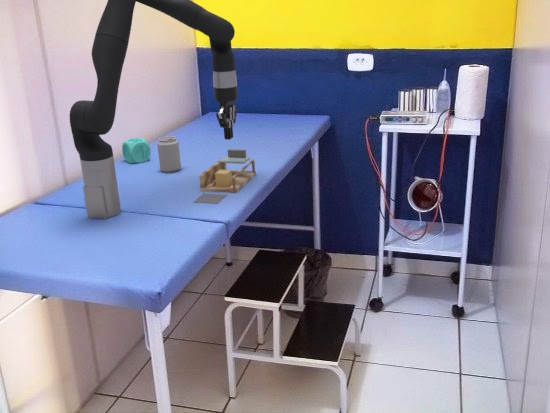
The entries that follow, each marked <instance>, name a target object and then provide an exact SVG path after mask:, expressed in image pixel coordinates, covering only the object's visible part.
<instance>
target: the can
mask: <svg viewBox="0 0 550 413" xmlns="http://www.w3.org/2000/svg"><path fill="white" fill-rule="evenodd" d="M179 143H180V142H179V140H178V139H177V137H176V136H173V135H172V136H171V135H170V136H169V135H168V136H167V135H166V136H162V137H159V138H158V142H157V144H156V146H157V153H158V161H159V168H160V170H161V171H162V172H163V173H168V174H169V173H170V174H171V173H176V172H178V171H179V170H180V169H181V168H182V163H181V162H182V161H181V154H180V152H181V151H180V144H179Z"/></svg>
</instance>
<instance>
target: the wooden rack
mask: <svg viewBox="0 0 550 413" xmlns="http://www.w3.org/2000/svg"><path fill="white" fill-rule="evenodd" d="M223 158H224V157H222V158H221V159H223ZM221 159H219V160H218V161H216V162H215V163H214V164H213V165H211V166H209V168H207V169H206V170H204V171H203V172H201V174H199V175H198V177H199V186H200V188H199V189H200V191H201V192H210V193H214V192H215V193H228V194H229V193H231V194H237V192H239V190H241V189H242V188H243V187H244V186H245V185H246V184H247V183H248V182H250V180H251V179H253V178H254V177H255V176H256V174H257V171H256V168H255V167H256V166H255V165H256V164H255V163H256V162H255V159H250V160H249V162H248V163H247V164H245V165H244V166H243V167H241V169H239V170H236V169H230V170H231V173H232V186H230V187H218V186H216V177H215V173H216V172H217V171H219V170H227V163H219V161H220V160H221ZM249 166H251V170H246V169H247V168H249Z"/></svg>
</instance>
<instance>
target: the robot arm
mask: <svg viewBox="0 0 550 413" xmlns="http://www.w3.org/2000/svg"><path fill="white" fill-rule="evenodd" d="M136 2H137V3H138V4H141V5H144V6H147V7H149V8H152V9H154V10H156V11H159V12H160V13H163V14H164V15H167V16H169V17H170V18H173V19H174V20H177V21H178V22H180V23H182V24H184V25H185V26H187V27H189V28H191V29H193V30H195V31H198V32H200V33H202V34H203V35H206V36H207V37H208V39H209V40H208V41H209V46H210V50H211V57H212V59H211V60H212V72H213V73H212V83H213V84H212V85H213V86H212V87H213V97H214V98H213V99H214V101H215V102H218V104H219V106H218V112H216V114H215V116H216V119H217V121H218V124H219V127H220V128H223V135H224V136H223V137H224V138H223V139H224V140H232V139H233V138H234V129H233V128H234V124H236V119H237V113H238V106H237V105H235V101H237V100H238V99H239V94H238V92H239V91H238V81H237V80H238V78H237V71H236V61H235V59H236V57H235V55H234V52H233V50H232V40H233V39H234V38H235V31H236V30H235V28H234V25H233V23H231V22H230V21H229V20H227V19H225V18H223V17H221V16H219V15H217V14H215V13H213V12H211V11H209V10H207V9H206V8H205V7H203V6H201V5H199V4H198V3H196V2H194V1H192V0H107V2H106V5H105V7H104V9H103V12H102V15H101V18H100V19H99V21H98V22H99V23H98V25H97V28H96V31H95V34H94V39H93V43H92V46H91V59H92V60H91V61H92V63H93V67H94V70H95V74H96V78H97V79H96V80H97V82H96V83H97V86H96V91H95V95H94V98H93V100H78V101H76V102H74V103H73V104H72V105H71V108H70V110H69V126H70V129H71V134H72V139H73V142H74V143H73V144H74V148H75V149H76V151H77V153H78V156H79V160H80V167H81V173H82V180H83V185H84V186H83V187H82V190H83V196H84V203H85V209H86V214H87V215H86V216H87V218H89V219H102V220H103V219H105V220H106V219H107V218H111V217H114V216H117V215H120V214H121V212H122V208H121V207H122V206H121V202H120V201H121V200H120V193H119V187H118V180H117V179H118V178H117V172H116V166H115V158H114V151H113V148H112V146H111V144H110V143H109V142H107V141H105V140H104V139H103V138H102V136H103V135H106V134H108V133H109V132H110V131H111V130H112V127H113V125H114V122H115V118H116V117H115V116H116V110H117V103H118V93H119V87H120V81H121V78H122V72H123V66H124V63H125V60H126V55H127V51H128V47H129V42H130V38H131V30H132V25H133V24H132V23H133V17H134V11H135V6H136Z"/></svg>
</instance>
